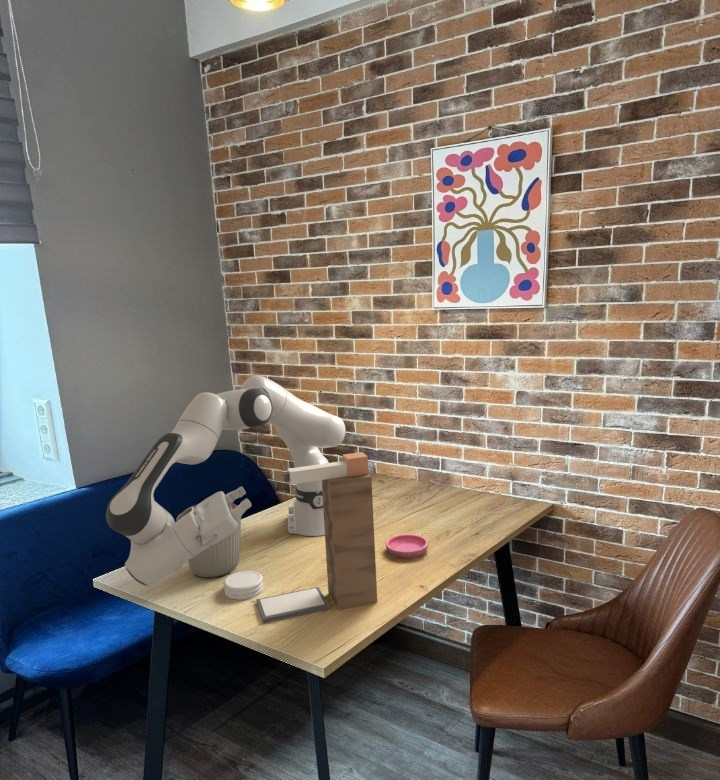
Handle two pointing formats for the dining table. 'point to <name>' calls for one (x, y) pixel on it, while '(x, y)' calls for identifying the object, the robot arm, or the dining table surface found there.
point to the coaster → (243, 585)
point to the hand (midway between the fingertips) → (246, 495)
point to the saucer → (407, 545)
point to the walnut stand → (350, 540)
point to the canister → (217, 554)
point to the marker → (329, 469)
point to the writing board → (291, 604)
